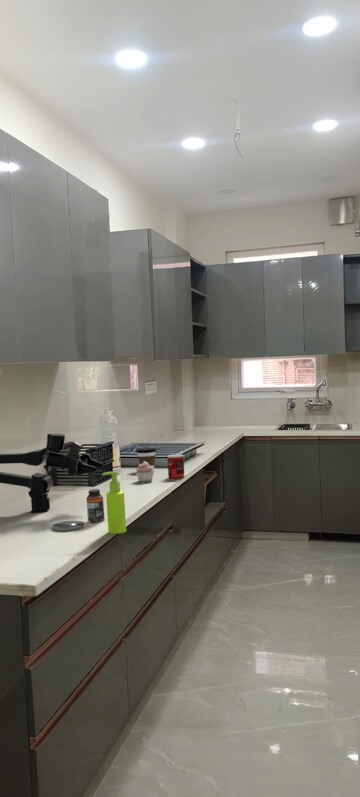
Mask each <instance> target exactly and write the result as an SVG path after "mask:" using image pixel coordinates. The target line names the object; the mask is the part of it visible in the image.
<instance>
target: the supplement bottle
mask: <svg viewBox="0 0 360 797" xmlns="http://www.w3.org/2000/svg"><path fill="white" fill-rule="evenodd" d="M100 490H101V489H99V488H92V489H89V490H88V495H87V497H86V511H87V521H88V522H89V523H93V524H94V523H100V522H103V521H104V520H105V509H104V508H105V507H104V496H103V495H102V494H101V491H100Z"/></svg>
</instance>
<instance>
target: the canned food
mask: <svg viewBox="0 0 360 797" xmlns="http://www.w3.org/2000/svg"><path fill="white" fill-rule="evenodd" d="M166 460H167V473H168V474H167V475H168V478H169V479H170V480H179V479H184V478H185V460H184V454H180V453H179V454H169V455H167V459H166Z"/></svg>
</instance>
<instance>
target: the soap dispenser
mask: <svg viewBox="0 0 360 797" xmlns="http://www.w3.org/2000/svg"><path fill="white" fill-rule="evenodd" d="M119 473H120V472H119V471H106V472H103V473H102V474H101V476H107V475H108V476H109V475H111V481H110V482H109V491H108V492H106V494H105V495H106V496H105V497H106V511H107V512H106V513H107V514H106V515H107V529H108V531H107V532H108V534H113V535H119V534H124V533H127V524H126V522H127V520H126V518H127V517H126V505H125V504H126V502H125V491H123V490H121V483H120V481H119V480H118V475H119Z"/></svg>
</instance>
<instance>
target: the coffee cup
mask: <svg viewBox="0 0 360 797" xmlns="http://www.w3.org/2000/svg"><path fill="white" fill-rule="evenodd" d="M156 452H157V448H156V447H152V446H151V447H140V448H137V449H136V451H135V453H137V458H138V462H139V464H138V465H140V464H143V461H145V462H147V463H148V464H149V465H150V466H151V467H152V470H153V471H155V464H156V456H157V455H156Z"/></svg>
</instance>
